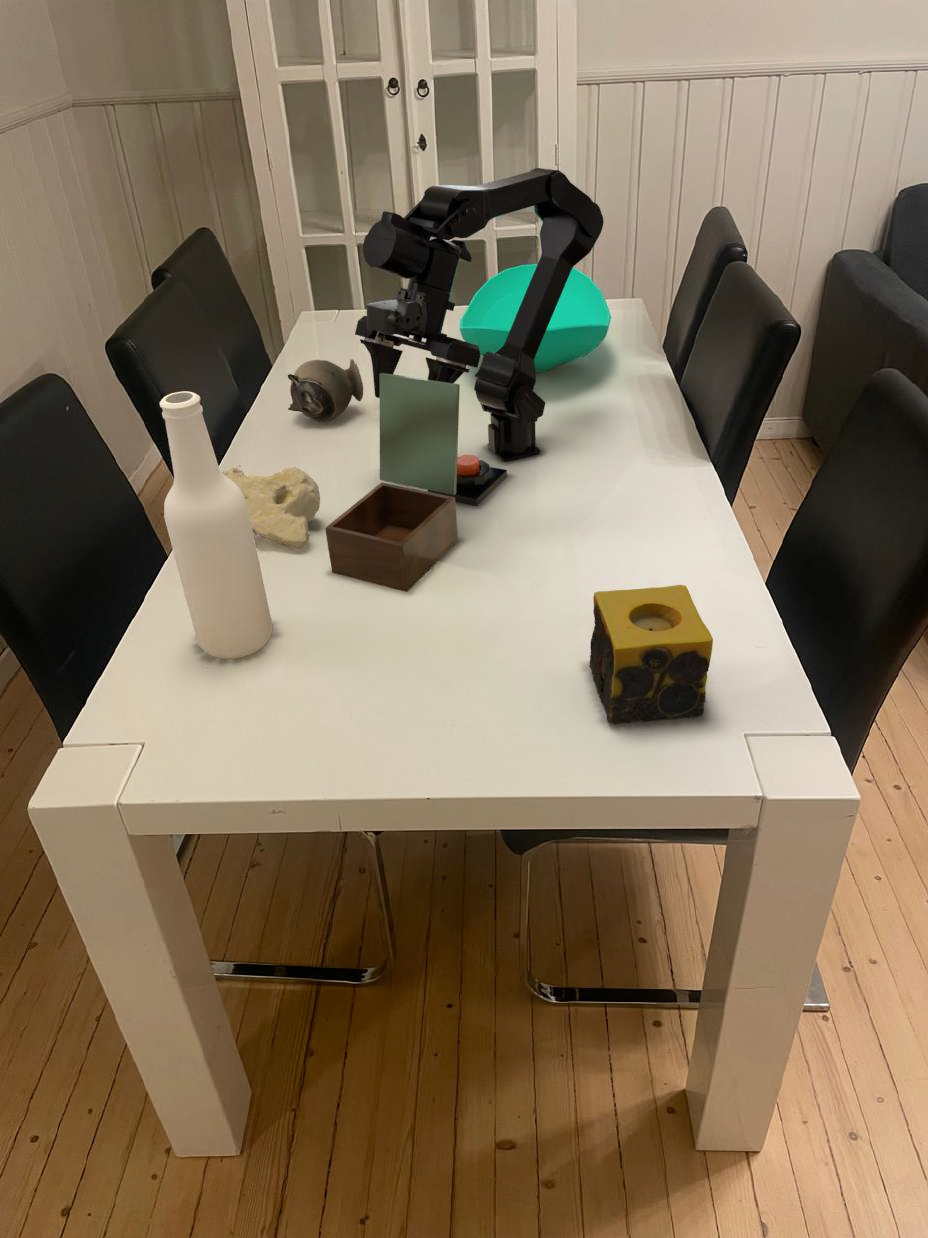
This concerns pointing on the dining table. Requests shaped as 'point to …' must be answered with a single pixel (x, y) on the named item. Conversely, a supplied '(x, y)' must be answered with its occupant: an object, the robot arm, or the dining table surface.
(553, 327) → the table top decor
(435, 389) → the sage green panel
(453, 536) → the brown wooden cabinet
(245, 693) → the dining table surface
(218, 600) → the alcohol
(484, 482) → the black button base
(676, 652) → the candle
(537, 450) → the robot arm
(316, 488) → the animal skull
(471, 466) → the button
